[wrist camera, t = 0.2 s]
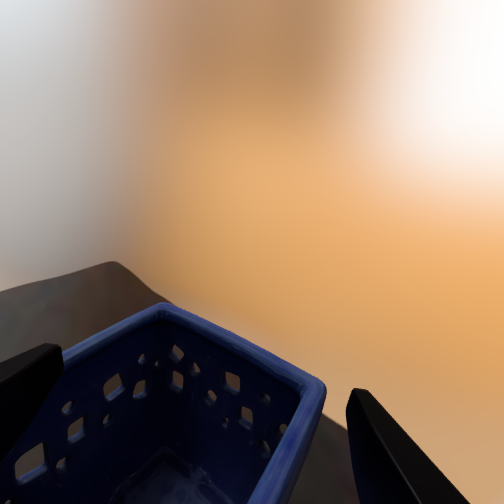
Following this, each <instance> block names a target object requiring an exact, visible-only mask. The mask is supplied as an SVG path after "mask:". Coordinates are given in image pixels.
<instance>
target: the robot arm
mask: <svg viewBox="0 0 504 504" xmlns="http://www.w3.org/2000/svg"><path fill="white" fill-rule="evenodd" d="M63 369H64V361H63V355H62V349H61V347H60V345H58V344H51V343H44V344H42V345H39V346H37V347H35V348H33V349H30V350H28V351H26V352H24V353H21V354H19V355H17V356H15V357H12V358H10V359H8V360H6V361H3V362H1V363H0V464H1V463H2V461H3V460H4V459H5V457H6V456H7V455H8V453H9V452H10V451H11V449H12V448H13V447H14V445H15V444H16V443H17V441H18V440H19V438H20V437H21V436H22V434H23V433H24V432H25V430H26V429H27V428H28V426H29V425H30V423H31V422H32V420H33V419H34V417H35V416H36V414H37V413H38V411H39V410H40V408H41V406H42V405H43V403H44V401H45V400H46V398H47V397H48V395H49V393H50V392H51V390H52V388H53V387H54V385H55V384H56V382H57V380H58V379H59V377H60V376H61V374H62V372H63ZM346 421H347V429H348V437H349V445H350V453H351V461H352V468H353V474H354V479H355V484H356V488H357V492H358V497H359V501H360V504H470V503H469V502H468V501H467V500H466V499H465V497H464V496H463V495H462V494H461V493H460V492H459V491H458V490H457V489H456V487H455V486H454V485H453V484H452V483H451V482H450V481H449V480H448V479H447V477H445V476H444V474H443V473H442V472H441V471H440V470H439V469H438V467H437V466H436V465H435V464H434V463H433V462H432V461H431V460H430V459H429V458H428V456H427V455H426V454H425V453H424V452H423V451H422V450H421V449H420V447H419V446H418V445H417V444H416V443H415V442H414V441H413V440H412V439H411V438H410V436H409V435H408V434H407V433H406V432H405V431H404V430H403V429H402V427H401V426H400V425H399V424H398V423H397V422H396V421H395V420H394V419H393V418H392V416H391V415H390V414H389V413H388V412H387V411H386V410H385V409H384V408H383V406H382V405H381V404H380V403H379V402H378V401H377V400H376V399H375V398H374V396H373V395H372V394H371V393H370V392H369V391H368V390H365V389H359V388H354V389H353V390H352V391H351V395H350V397H349V400H348V404H347V407H346Z"/></svg>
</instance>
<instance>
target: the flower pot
mask: <svg viewBox="0 0 504 504" xmlns="http://www.w3.org/2000/svg"><path fill="white" fill-rule="evenodd" d="M174 345H176V346H177V347H178V348H180V349H181V350H182V351H183V352H184V356H183V358H182V359H180V358H179V357H178V356H177V355H176V354H175V353H174V352H173V346H174ZM143 353H144V357H143V358H142V359H141V360H139V361H138V359H139V357H140V355H142V354H143ZM62 355H63V361H64V369H63V372H62V374H61V376H60V377H59V379H58V380H57V382H56V384H55V385H54V387H53V388H52V390H51V392H50V393H49V395H48V397H47V398H46V400H45V401H44V403H43V405H42V406H41V408H40V410H39V411H38V413H37V414H36V416H35V417H34V419H33V420H32V422H31V423H30V425H29V426H28V428H27V429H26V430H25V432H24V433H23V434H22V436H21V437H20V438H19V440H18V441H17V443H16V444H15V445H14V447H13V448H12V449H11V451H10V452H9V453H8V455H7V456H6V457H5V459H4V460H3V461H2V463H1V464H0V504H4V503H5V502H6V501H7V500H11V501H10V503H9V504H288V502H289V499H290V497H291V494H292V492H293V489H294V487H295V484H296V482H297V479H298V477H299V474H300V472H301V469H302V467H303V464H304V462H305V459H306V457H307V454H308V451H309V448H310V445H311V443H312V440H313V437H314V434H315V431H316V429H317V426H318V423H319V420H320V417H321V413H322V409H323V406H324V402H325V399H326V394H327V390H326V386H325V384H324V383H323V382H322V381H321V380H319V379H318V378H316V377H314V376H312V375H311V374H308V373H307V372H305V371H303V370H302V369H299V368H298V367H296V366H294V365H292V364H290V363H289V362H287V361H285V360H283V359H281V358H279V357H277V356H276V355H274V354H272V353H270V352H269V351H266V350H265V349H263V348H261V347H258V346H257V345H255V344H253V343H251V342H250V341H248V340H246V339H244V338H242V337H240V336H238V335H236V334H234V333H232V332H231V331H228V330H226V329H224V328H222V327H219V326H217V325H215V324H213V323H211V322H209V321H207V320H205V319H203V318H201V317H199V316H197V315H195V314H192V313H190V312H188V311H185V310H183V309H181V308H179V307H176V306H174V305H171V304H168V303H164V302H162V303H158V304H156V305H154V306H151V307H149V308H147V309H145V310H143V311H141V312H138V313H136V314H134V315H132V316H130V317H128V318H126V319H124V320H122V321H120V322H118V323H116V324H115V325H113V326H111V327H109V328H107V329H105V330H103V331H101V332H99V333H97V334H95V335H93V336H91V337H89V338H88V339H86V340H84V341H82V342H80V343H78V344H76V345H75V346H73V347H71V348H69V349H67V350H65V351H63V352H62ZM157 360H158V362H157V363H156V361H157ZM155 363H156V364H155ZM194 363H196V364H197V366H198V367H199V369H200V372H196V370H195V368H194ZM173 371H176V372H178V373H180V374H182V375H183V379H184V380H183V388H182V387H180V386H178V385H176V384H175V383H174V382H173ZM226 371H227V372H230V373H232V374H234V375H237V376H239V378H240V390H237V389H234V388H232V387H231V386H229V385H228V384H227V382H226ZM117 373H119V376H120V378H121V381H122V384H121V385H120V386H119V387H118V388H117V389H116V390H114V391H113V392H112V393H111V394H109V395H108V396H107V397H105V396H104V391H103V386H104V384H105V383H106V382H107V381H108V380H109V379H110V378H112V377H113V376H114V375H116V374H117ZM141 380H145V387H144V391H143V392H141V393H139V394H137V395H134V396H133V391H134V388H135V385H136V384H137V383H138V382H139V381H141ZM209 390H212V391H213V392H214V393H215V395H216V396H217V398H216V401H214V400H213V399H212V398H211V397H210V395H209V394H208V391H209ZM265 394H267V395H269V397H270V399H269V398H268V397H267V396H266V395H265ZM69 401H71V403H70V405H69V407H68V408H67V409H66V410H65V411H61V410H62V408H63V406H64V405H65V404H66V403H68V402H69ZM242 406H243V407H246V408H249V409H250V410H251V411H252V415H253V423H252V422H250V421H249V420H247V419H245V418H243V417H242V412H241V411H242ZM108 414H109V415H108ZM107 415H108V418H107V420H106V421H105V422H104V423H103V420H104V418H105V417H106V416H107ZM81 417H83V426H82V429H81V430H80V431H79V432H78V433H77V434H75V435H73V436H72V437H70V438H68V428H69V426H70V425H71V424H72V423H74V422H75V421H76V420H78V419H79V418H81ZM226 418H228V421H227V420H226ZM283 423H284V424H286V425H287V426H288V428H287V429H286V431H285V433H284V435H283V433H282V432H281V430H280V428H279V427H280V425H281V424H283ZM263 440H264V441H266V442H267V444H268V446H269V448H270V451H268V450H267V448H266V446H265V444H264V441H263ZM40 443H43V449H44V459H45V460H44V462H43V463H42V464H41V465H40V466H39V467H37V468H35V469H33V470H32V471H30V472H28V473H26V474H24V475H23V476H21V477H19V478H16V477H15V467H14V466H15V463H16V461H17V460H18V459H19V458H20V457H21V456H22V455H23V454H25V453H26V452H28V451H29V450H31V449H32V448H34V447H35V446H37V445H38V444H40ZM64 457H65V460H64V462H63V464H62V465H61V466H60V467H56V465H57V463H58V461H59V460H61V459H63V458H64Z"/></svg>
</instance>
